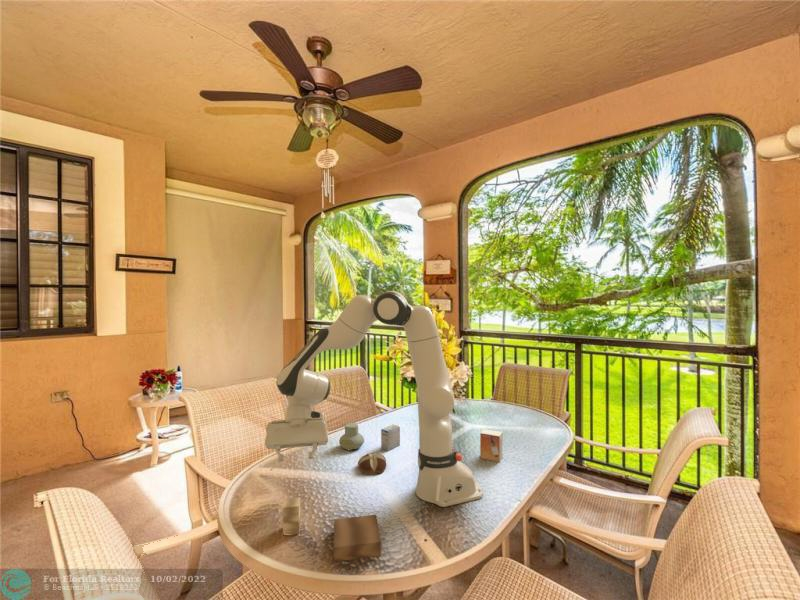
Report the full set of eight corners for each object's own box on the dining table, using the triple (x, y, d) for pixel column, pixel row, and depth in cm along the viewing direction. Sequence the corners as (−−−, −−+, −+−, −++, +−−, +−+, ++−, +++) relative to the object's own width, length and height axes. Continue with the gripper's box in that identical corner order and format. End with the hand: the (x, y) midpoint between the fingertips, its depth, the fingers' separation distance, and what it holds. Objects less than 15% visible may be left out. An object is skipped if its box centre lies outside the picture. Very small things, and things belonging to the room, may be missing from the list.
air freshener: (336, 449, 161) (335, 427, 161) (345, 442, 169) (344, 420, 169) (359, 452, 158) (358, 429, 157) (366, 445, 165) (366, 423, 165)
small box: (480, 458, 150) (479, 433, 150) (483, 453, 155) (483, 428, 155) (499, 462, 146) (499, 436, 146) (502, 457, 151) (502, 431, 151)
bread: (386, 461, 150) (386, 449, 149) (386, 474, 138) (386, 461, 138) (358, 462, 149) (358, 449, 149) (356, 475, 138) (356, 462, 138)
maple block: (300, 524, 108) (300, 497, 108) (299, 534, 104) (298, 506, 104) (285, 526, 108) (284, 499, 108) (283, 536, 103) (282, 507, 103)
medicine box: (392, 442, 168) (392, 424, 167) (400, 445, 165) (400, 426, 165) (381, 448, 161) (380, 429, 161) (388, 451, 159) (388, 431, 159)
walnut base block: (376, 528, 107) (376, 514, 107) (381, 557, 95) (380, 541, 95) (334, 533, 105) (334, 519, 105) (333, 563, 93) (333, 547, 93)
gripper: (265, 416, 123) (260, 458, 114) (328, 413, 127) (327, 453, 117) (268, 425, 128) (263, 466, 118) (328, 421, 131) (328, 460, 122)
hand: (295, 459), depth 118 cm, fingers open, 8 cm apart
